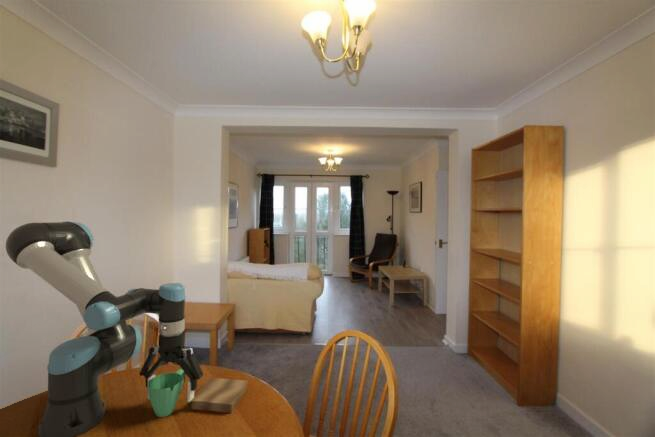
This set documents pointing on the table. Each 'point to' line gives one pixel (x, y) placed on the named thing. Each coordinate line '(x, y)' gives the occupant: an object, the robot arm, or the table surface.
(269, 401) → the table surface
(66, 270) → the robot arm
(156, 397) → the mug
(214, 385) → the walnut board
